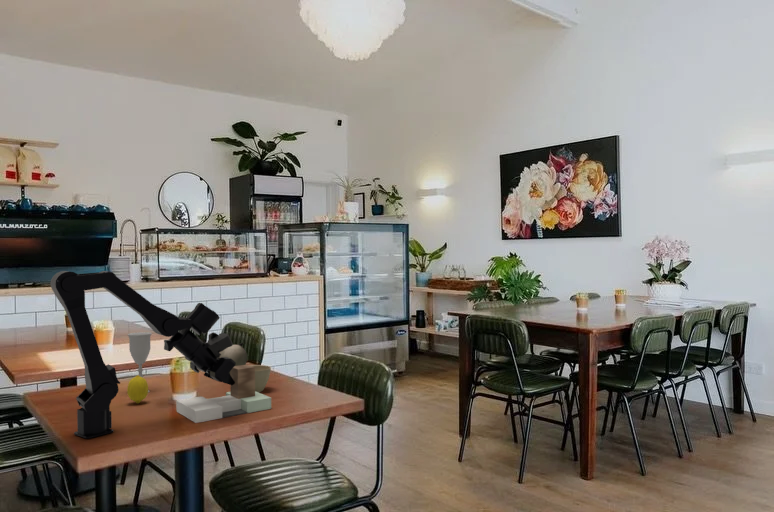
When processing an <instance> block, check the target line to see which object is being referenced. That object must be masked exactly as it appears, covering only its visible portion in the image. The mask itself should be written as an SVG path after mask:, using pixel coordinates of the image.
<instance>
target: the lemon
mask: <svg viewBox="0 0 774 512" xmlns="http://www.w3.org/2000/svg"><path fill="white" fill-rule="evenodd" d="M148 390H149V384H148V381H147V380H146V378H144V376H143V377H140V376H139V374H138V375H136V376H134V377H132V378H131V379H129V382H128V385H127V391H126V393H127V396H128V398H129V399H130V400H131V401H133V402H135V404H140V403H141V402H142V401H144V400H145V399H146V398H147V396H148V393H149V392H148Z"/></svg>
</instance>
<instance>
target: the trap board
mask: <svg viewBox="0 0 774 512" xmlns="http://www.w3.org/2000/svg"><path fill="white" fill-rule="evenodd" d="M175 400H176V399H175ZM175 405H176V412H177V414H180V415H182V416H184V418H187V419H188V420H189V421H192V422H193V423H195V424H198V423H203V422H208V421H213V420H218V419H224V418H229V417H230V418H231V417H233V416H240V415H245V414H246V415H247V414H250V413H255V412H256V413H257V412H261V411H266V410H270V409H272V396H271V397H270V396H268V395H266V394H263V393H261V392H256V391H255V396H253V397H247V398H241V399H237V398H235V397H233V396H231V392H230V391H227V392H225V395H224V396H218V397H211V398H206V397H204V396H202V395H201V396H195V397H188V398H183V399H177V400H176V403H175Z"/></svg>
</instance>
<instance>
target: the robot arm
mask: <svg viewBox="0 0 774 512" xmlns="http://www.w3.org/2000/svg"><path fill="white" fill-rule="evenodd" d="M50 287H51V289H52V291H53V293H54V295H55V297H56V298H57V301H58V302H59V303H60V304H61V306H62V307H63V309H64V310H65V312H66V315H67V317H68V321H69V324H70V327H71V330H72V333H73V336H74V339H75V342H76V344H77V347H78V350H79V353H80V357H81V359H82V362H83V366H84V382H85V388H84V389H83V390H82V391H81V392H80V394H79V395H77V396H76V398H75V400H76V402H77V404H78V406H79V407H80V408H78V409H77V410H76V412H77V413H76V414H77V416H76V417H77V418H76V419H77V425H76V426H77V431H74V432H73V435H75V436H77V437H78V436H79V437H81V438H83V439H85V440H87V439H92V438H93V439H94V438H97V437H100V436H105V435H107V434H111V433H113V432H114V429H112V428H113V427H112V425H113V424H112V423H113V422H112V419H113V417H112V411H111V409H110V408H111V407H110V406H111V403H112V401H113V400H114V399H115V398H116V397H117V395H118V393H119V389H120V388H119V385H120V384H121V381H120V380H119V379H118V376H117V370H116V368H115V367H114V366H112V365H111V364H106V363H105V362H104V360H103V356H102V353H101V350H100V347H99V344H98V342H97V339H96V336H95V333H94V330H93V326H92V323H91V321H90V319H89V315H88V311H87V309H86V292H85V291H91V290H96V289H97V290H98V289H104V290H105V291H107V292H108V293H110V294H111V295H112V296H113V297H115V298H116V299H118V300H119V301H120V302H122V303H123V304H124V305H125V306H127V307H128V308H129V309H131V310H132V311H133V312H135V313H136V314H138V315H139V316H140V317H141V318H142V319H143V321H144V322H145V323H146V325H147V326H148V327H149V328H150V329H151V330H152V331H153V332H154V333H155V334H157V335H160V336H164V337H167V338H169V337H170V338H169V339H164V340H163V350H165V351H167V352H171V351H172V350H173V349H174V348H175V349H176V350H177V351H178V352H179V353H181V354H182V355H183V356H184V359H186V360H187V361H189V368H190V369H191V370H192V371H193V372H195V373H198V374H199V373H200V371H201V372H203V373H204V374H203V376H204V377H206V378H209V379H211V380H213V381H217V382H219V383H224V384H226V385H229V386H230V385H233V384H234V383H235V382H234V380H233V378H232V377H231V375H230V373H229V372H230V371H231V370H232V368H233V367H234V366H235V365H236V362H234V361H233V360H232V359H231V358H228V357H221V358H219V357H220V355H221V354H220V353H219V352H221V351H223V350H225V349H226V348H228V347H231V346H232V345H234V344H233V341H232V340H231V337H230V335H229V333H223V332H222V333H216V332H213V331H212V332H211V333H209V334H208V332H209V331H210V330H211V329H212V328H213V326H215V324H216V323H217V322H218V321H219V320H220V316H219V314H218V313H217V312H216V311H215V310H213V309H211V308H210V307H208V306H206V305H205V304H204V303H203V302H198V303H197V304H196V305H195V306H194V308H193V310H191V312H189V314H188V315H187V316H186V317H184V316H179V317H178V316H177V315H176V314H173V312H170V311H168V310H166V309H164V308H161V307H160V306H157V305H155V304H153V303H152V302H150V300H148V299H146V298H145V297H144V296H142V295H141V294H140V293H139V292H138V291H136V290H135V289H133V287H131V286H130V285H128V284H127V283H125V282H124V281H123V280H122V279H120V278H119V277H118V276H117V275H116V274H115V273H114V272H112V271H109V270H101V271H98V272H88V273H87V272H86V273H77V272H74V271H68V270H67V271H66V270H61V271H58V272H56V273H55V274H54V275H52V278H51V279H50ZM201 334H203V335H206V334H208V340H207V341H206V342H204V341H203V340H201V339H200V338H199V336H200V335H201ZM197 335H198V336H197Z"/></svg>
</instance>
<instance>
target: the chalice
mask: <svg viewBox="0 0 774 512" xmlns="http://www.w3.org/2000/svg"><path fill="white" fill-rule="evenodd" d="M152 333H153V332H147V331H143V332H140V331H139V332H131V333H127V336H128V340H129V341H128V342H129V345H128V346H129V353H130V356H131V357H132V360H133V361H134V363H135V364H137V365H138V369H137V372H138V375H139V376H140V377H143V378H144V375H143V372H144V369H143V365H144V364H145V363H146V361H147V359H148V357H149V355H150V352H151V336H152ZM150 391H151V390H149V389H148V393H150Z"/></svg>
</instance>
